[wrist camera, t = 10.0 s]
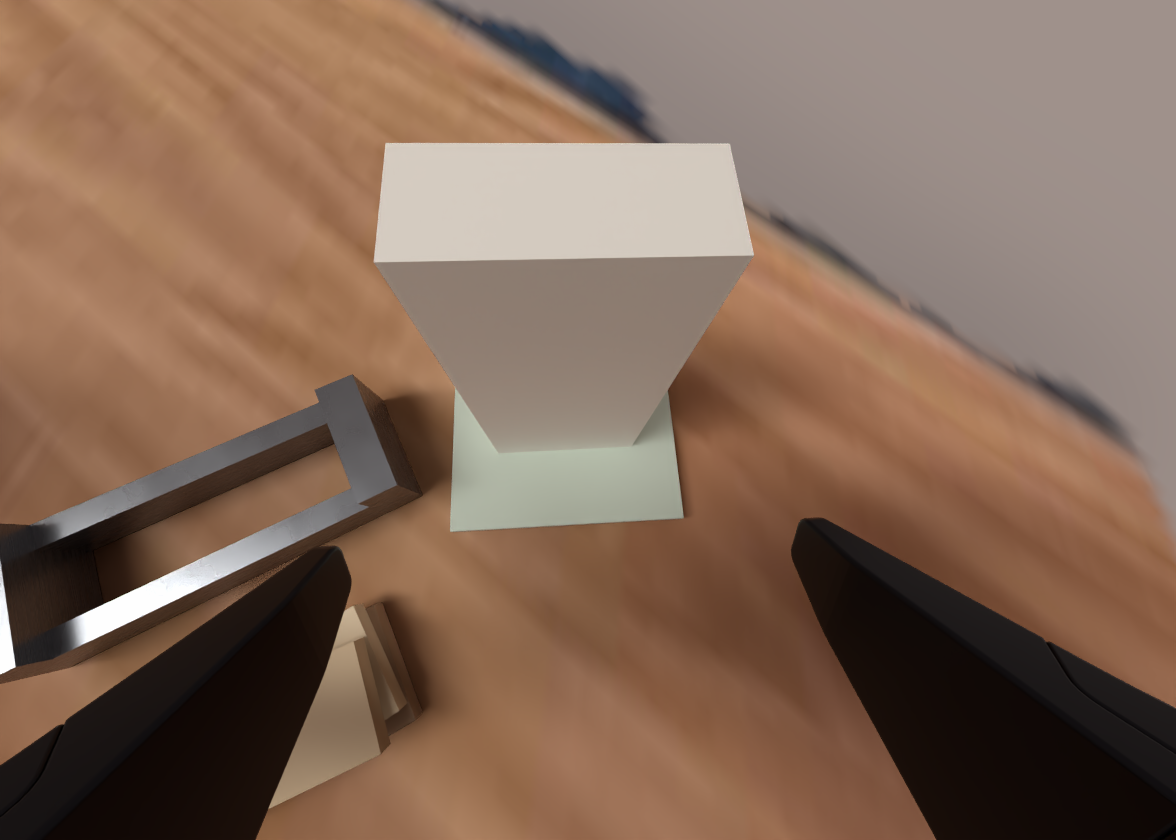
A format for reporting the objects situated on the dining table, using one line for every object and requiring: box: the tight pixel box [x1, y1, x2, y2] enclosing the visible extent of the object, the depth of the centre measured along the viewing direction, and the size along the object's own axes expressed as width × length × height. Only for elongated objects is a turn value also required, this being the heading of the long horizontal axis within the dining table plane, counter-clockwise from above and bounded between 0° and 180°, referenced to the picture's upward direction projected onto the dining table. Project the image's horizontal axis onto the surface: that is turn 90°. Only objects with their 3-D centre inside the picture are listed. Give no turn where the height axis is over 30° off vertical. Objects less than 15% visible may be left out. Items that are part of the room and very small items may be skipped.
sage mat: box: [450, 388, 684, 532], centre depth 20 cm, size 9×10×1 cm
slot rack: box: [0, 375, 423, 684], centre depth 16 cm, size 5×14×3 cm, turn 118°
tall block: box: [374, 143, 754, 453], centre depth 13 cm, size 2×6×13 cm, turn 94°
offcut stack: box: [269, 603, 422, 809], centre depth 15 cm, size 5×8×2 cm, turn 118°
